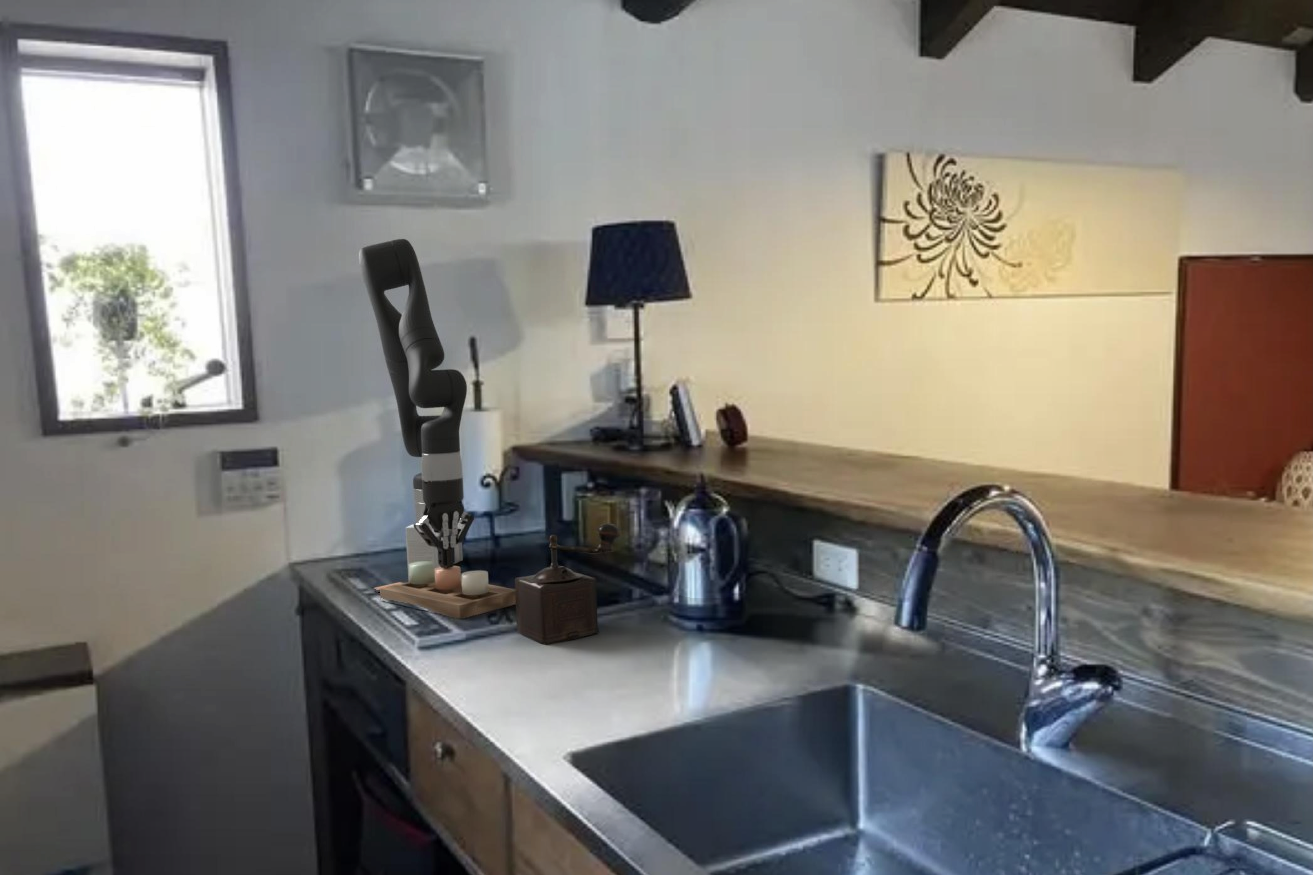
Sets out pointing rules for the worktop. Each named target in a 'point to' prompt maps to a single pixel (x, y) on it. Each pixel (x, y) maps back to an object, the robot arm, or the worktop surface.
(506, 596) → the button board
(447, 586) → the peach rounded piece
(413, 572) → the button sage
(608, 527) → the coffee grinder
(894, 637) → the worktop surface
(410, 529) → the skincare box
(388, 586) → the tile
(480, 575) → the button cream
